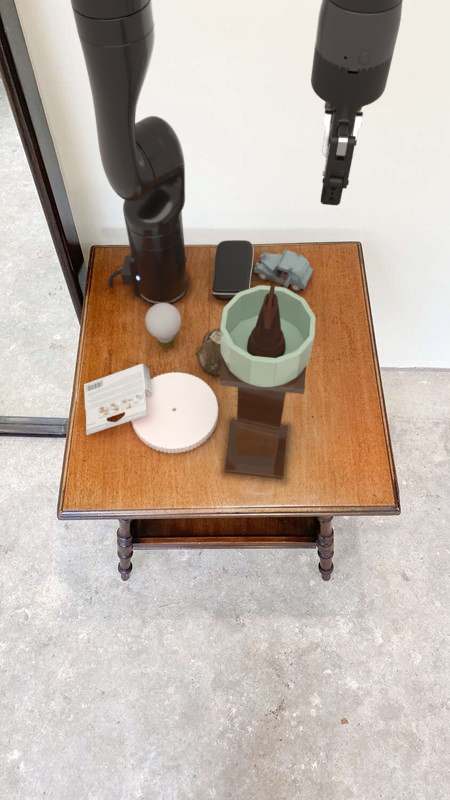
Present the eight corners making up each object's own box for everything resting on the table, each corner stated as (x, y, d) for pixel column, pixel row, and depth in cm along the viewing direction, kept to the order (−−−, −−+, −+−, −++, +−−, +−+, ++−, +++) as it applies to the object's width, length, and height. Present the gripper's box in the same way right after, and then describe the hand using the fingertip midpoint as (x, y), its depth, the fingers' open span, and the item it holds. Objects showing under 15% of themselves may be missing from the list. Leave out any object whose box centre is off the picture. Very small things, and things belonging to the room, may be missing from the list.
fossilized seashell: (234, 315, 113) (185, 345, 111) (240, 311, 106) (188, 343, 105) (256, 352, 113) (208, 382, 112) (264, 351, 107) (212, 383, 106)
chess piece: (244, 361, 77) (246, 309, 68) (250, 327, 79) (253, 272, 70) (282, 366, 76) (290, 315, 68) (287, 332, 79) (295, 277, 70)
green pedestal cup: (219, 476, 100) (215, 356, 71) (227, 417, 105) (227, 281, 76) (287, 484, 100) (312, 366, 70) (292, 424, 105) (317, 290, 76)
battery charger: (251, 303, 117) (256, 251, 122) (249, 291, 114) (254, 238, 118) (213, 303, 118) (219, 252, 123) (210, 291, 115) (216, 239, 119)
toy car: (262, 260, 122) (263, 242, 118) (312, 277, 120) (315, 259, 116) (248, 285, 119) (249, 267, 115) (299, 302, 117) (302, 284, 113)
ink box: (150, 368, 105) (155, 420, 101) (90, 389, 108) (93, 441, 104) (143, 361, 103) (148, 414, 99) (82, 382, 106) (85, 435, 102)
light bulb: (164, 365, 110) (158, 330, 102) (142, 344, 113) (135, 308, 104) (190, 346, 112) (187, 311, 104) (169, 325, 115) (164, 289, 106)
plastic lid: (224, 448, 102) (224, 441, 100) (136, 462, 101) (134, 455, 99) (211, 374, 109) (211, 366, 107) (128, 386, 108) (126, 378, 106)
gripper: (319, -3, 65) (303, 134, 79) (311, 84, 58) (295, 218, 72) (394, 1, 65) (365, 139, 79) (395, 91, 58) (362, 224, 72)
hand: (331, 176), depth 76 cm, fingers open, 8 cm apart
